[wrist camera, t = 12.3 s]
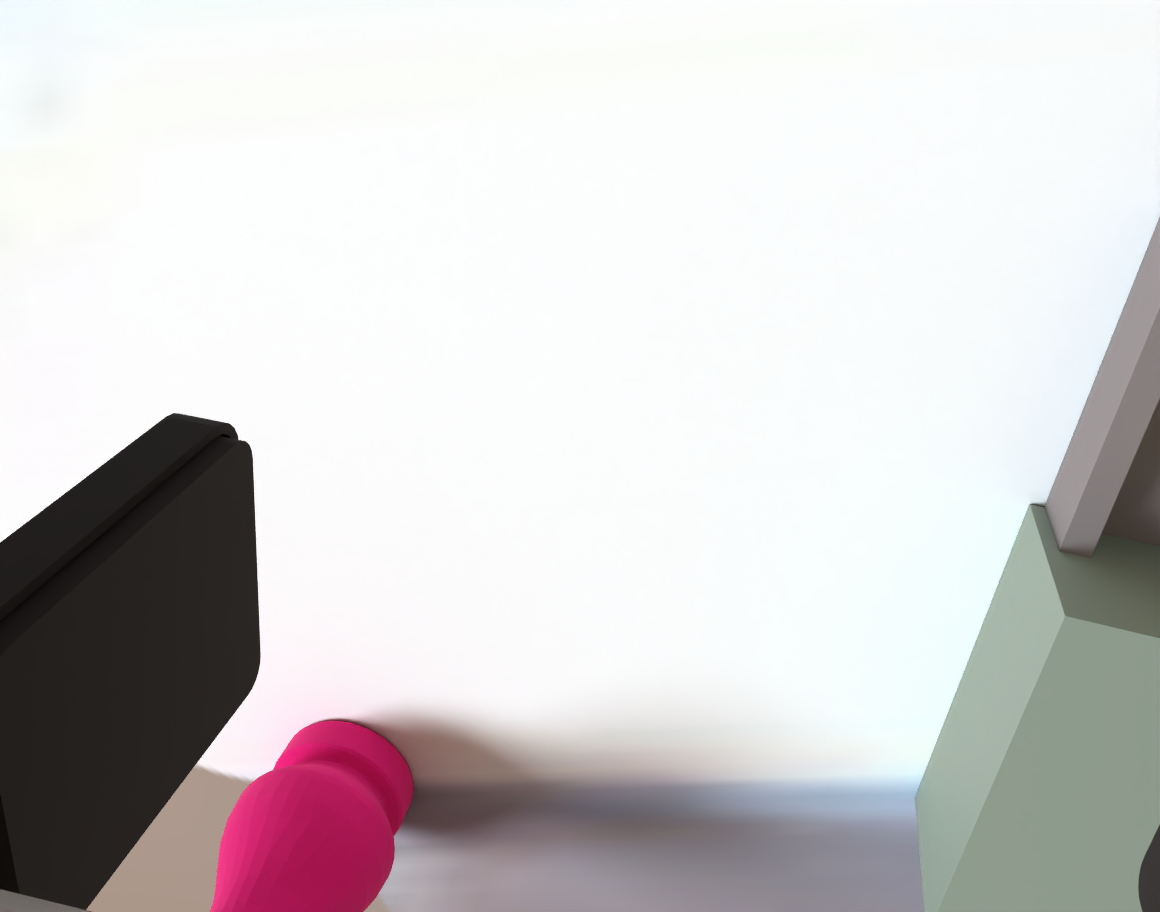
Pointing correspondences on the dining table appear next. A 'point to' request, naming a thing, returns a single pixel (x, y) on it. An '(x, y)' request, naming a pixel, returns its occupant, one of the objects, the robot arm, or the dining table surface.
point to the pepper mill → (316, 825)
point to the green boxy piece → (1065, 672)
